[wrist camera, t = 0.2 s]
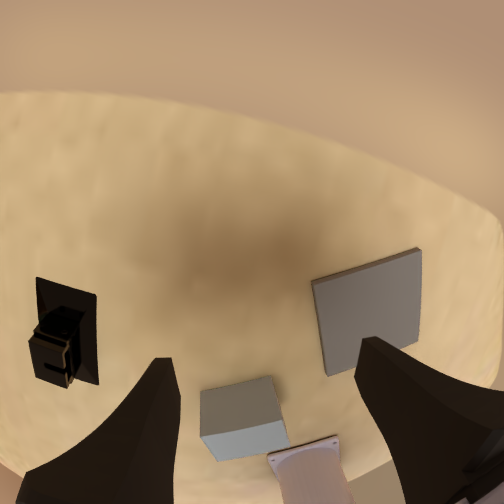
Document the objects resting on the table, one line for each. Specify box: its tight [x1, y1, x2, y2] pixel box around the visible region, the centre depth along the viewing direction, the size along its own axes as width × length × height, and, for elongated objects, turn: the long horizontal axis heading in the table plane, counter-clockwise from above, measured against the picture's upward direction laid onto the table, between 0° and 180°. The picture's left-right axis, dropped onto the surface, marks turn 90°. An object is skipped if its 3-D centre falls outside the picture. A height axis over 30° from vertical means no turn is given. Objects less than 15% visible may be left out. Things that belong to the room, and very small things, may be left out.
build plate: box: [28, 277, 99, 389], centre depth 18 cm, size 12×7×5 cm, turn 165°
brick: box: [200, 376, 291, 462], centre depth 21 cm, size 4×6×5 cm, turn 104°
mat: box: [311, 248, 422, 377], centre depth 22 cm, size 9×9×1 cm
